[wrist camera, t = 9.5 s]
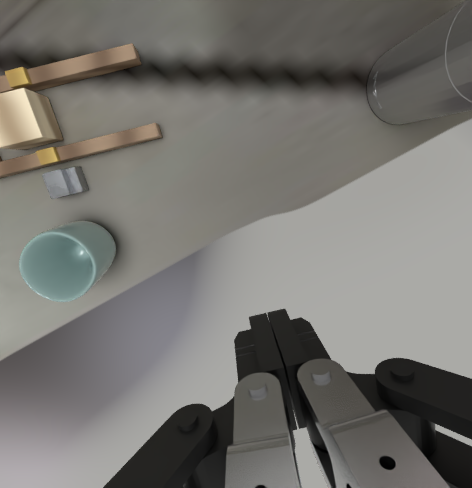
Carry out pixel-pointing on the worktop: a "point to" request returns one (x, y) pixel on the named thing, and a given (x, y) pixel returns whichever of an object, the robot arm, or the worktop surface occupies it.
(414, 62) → the robot arm
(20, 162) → the beam rails
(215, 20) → the worktop surface
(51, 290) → the cup
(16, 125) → the block
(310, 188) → the worktop surface
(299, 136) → the worktop surface
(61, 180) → the block
